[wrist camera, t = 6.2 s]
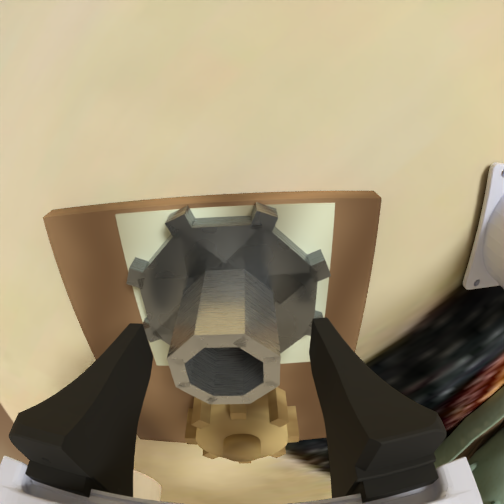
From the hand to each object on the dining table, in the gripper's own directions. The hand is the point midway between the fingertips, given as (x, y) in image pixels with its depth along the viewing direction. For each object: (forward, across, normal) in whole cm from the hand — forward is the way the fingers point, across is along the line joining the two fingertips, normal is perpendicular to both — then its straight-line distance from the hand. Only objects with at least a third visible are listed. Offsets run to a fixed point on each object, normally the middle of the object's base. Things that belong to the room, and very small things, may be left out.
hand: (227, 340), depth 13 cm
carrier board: (+4, +1, +5) cm, 6 cm away
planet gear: (+3, 0, 0) cm, 3 cm away
